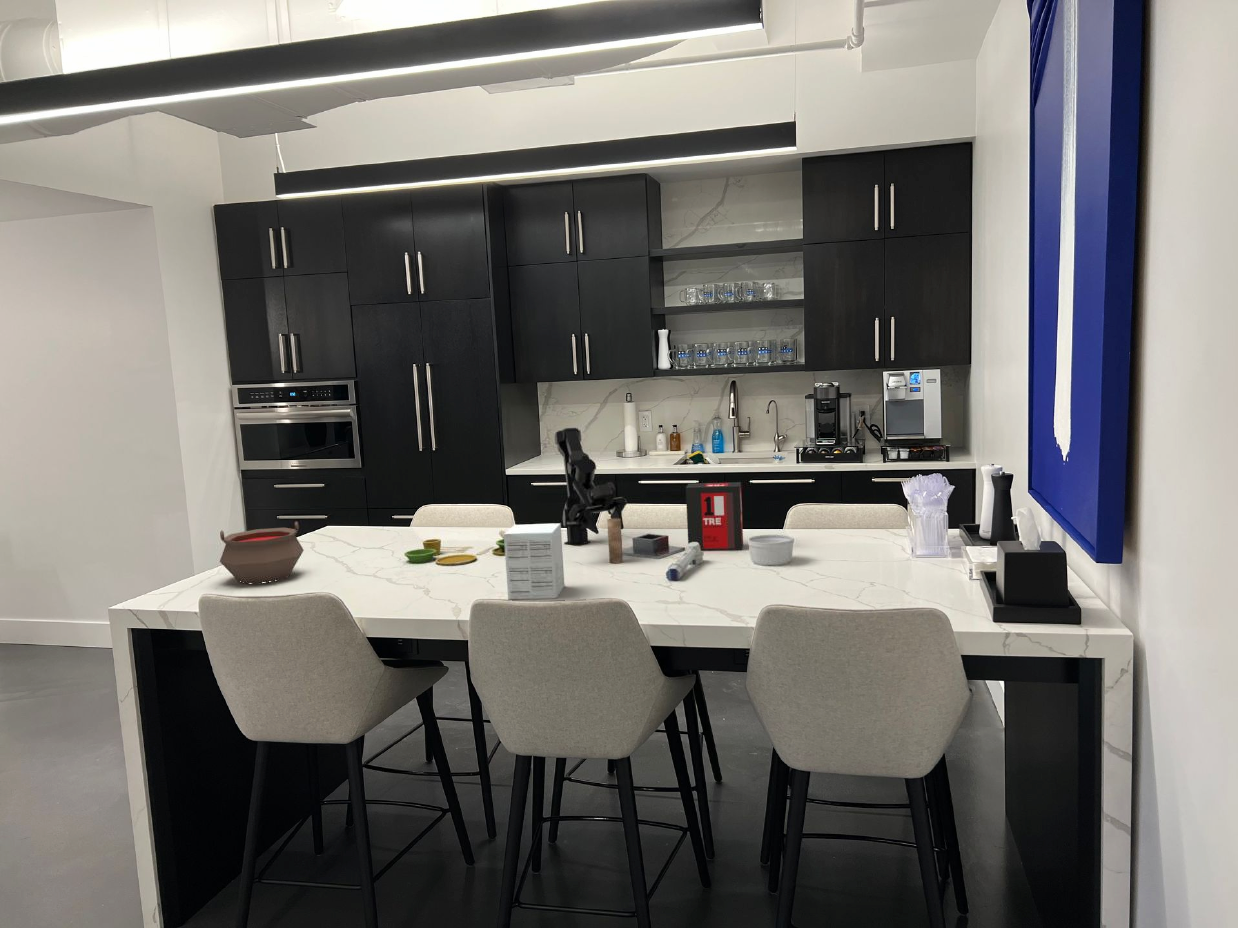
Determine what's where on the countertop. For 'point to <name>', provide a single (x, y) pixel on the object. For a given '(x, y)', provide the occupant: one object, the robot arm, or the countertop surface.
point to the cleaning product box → (715, 516)
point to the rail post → (615, 540)
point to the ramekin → (771, 549)
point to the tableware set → (434, 549)
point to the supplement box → (534, 561)
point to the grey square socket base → (651, 547)
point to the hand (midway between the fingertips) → (610, 530)
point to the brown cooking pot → (261, 554)
